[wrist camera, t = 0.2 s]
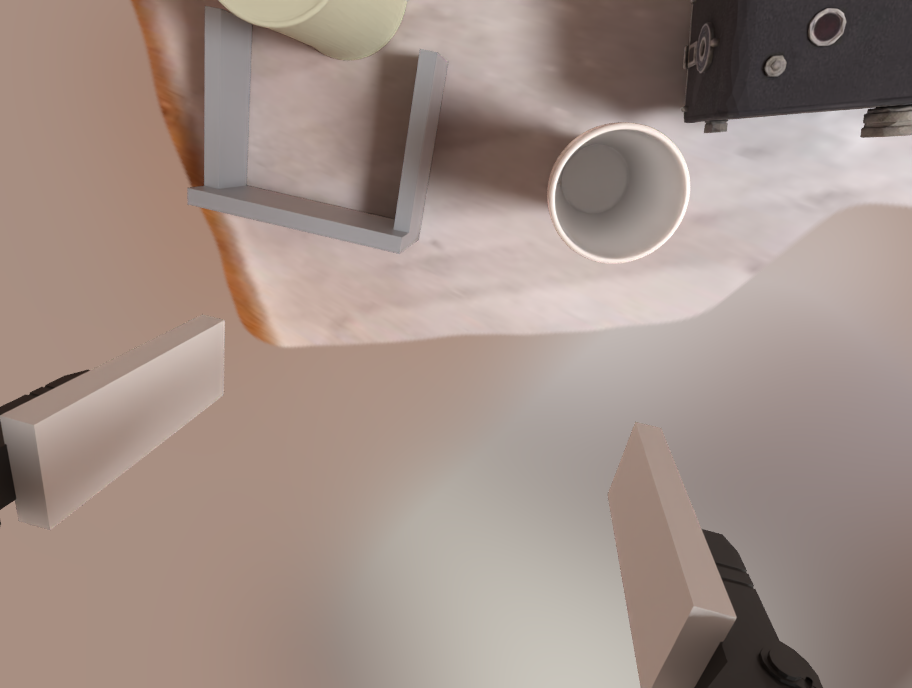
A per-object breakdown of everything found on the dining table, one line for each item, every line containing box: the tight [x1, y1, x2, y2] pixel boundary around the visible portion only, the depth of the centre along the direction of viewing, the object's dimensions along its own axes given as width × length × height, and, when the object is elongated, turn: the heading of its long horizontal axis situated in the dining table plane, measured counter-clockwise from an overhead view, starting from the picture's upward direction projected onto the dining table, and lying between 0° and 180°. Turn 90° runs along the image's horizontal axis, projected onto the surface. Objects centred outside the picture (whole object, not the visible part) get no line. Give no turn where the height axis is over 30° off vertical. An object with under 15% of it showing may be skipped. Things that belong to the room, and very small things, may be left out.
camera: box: [682, 0, 912, 138], centre depth 29 cm, size 11×11×15 cm
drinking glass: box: [547, 122, 690, 264], centre depth 32 cm, size 7×7×15 cm
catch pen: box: [188, 6, 448, 254], centre depth 38 cm, size 13×16×6 cm
